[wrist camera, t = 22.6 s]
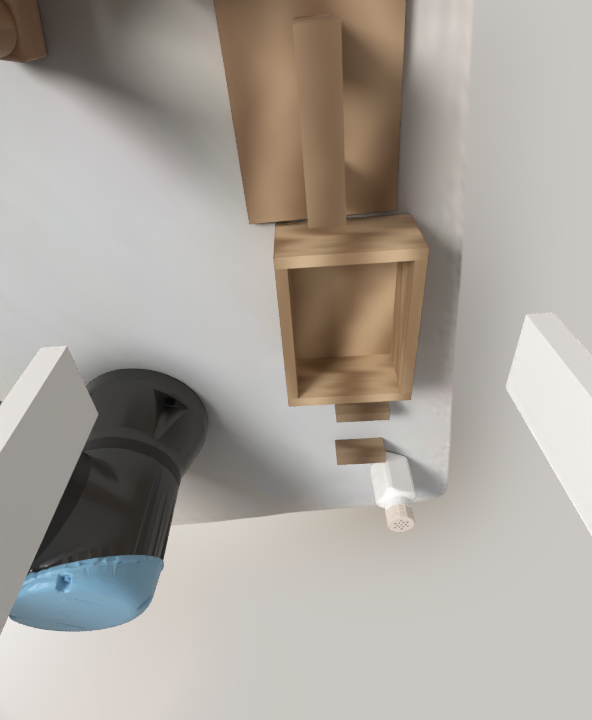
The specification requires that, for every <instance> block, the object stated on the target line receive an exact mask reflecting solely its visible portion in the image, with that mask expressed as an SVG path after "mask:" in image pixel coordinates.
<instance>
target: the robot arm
mask: <svg viewBox="0 0 592 720" xmlns="http://www.w3.org/2000/svg"><path fill="white" fill-rule="evenodd" d="M506 389H507V391H508V393H509V395H510V396H511V398H512V399H513V401H514V403H515V405H516V407H517V408H518V410H519V412H520V414H521V415H522V417H523V419H524V420H525V422H526V424H527V426H528V427H529V429H530V431H531V432H532V434H533V436H534V438H535V439H536V441H537V443H538V445H539V446H540V448H541V450H542V451H543V453H544V455H545V456H546V458H547V460H548V461H549V463H550V465H551V467H552V469H553V470H554V472H555V474H556V475H557V477H558V479H559V481H560V482H561V484H562V486H563V488H564V489H565V491H566V492H567V494H568V496H569V498H570V500H571V501H572V503H573V505H574V506H575V508H576V510H577V511H578V513H579V515H580V517H581V518H582V520H583V522H584V524H585V525H586V527H587V529H588V530H589V532H590V534H591V536H592V356H591V354H590V353H589V352H588V351H587V350H586V349H585V348H584V346H583V345H582V344H581V343H580V342H579V341H578V340H577V338H576V337H575V336H574V335H573V334H572V333H571V332H570V331H569V329H568V328H567V327H566V326H565V325H564V324H563V323H562V321H561V320H560V319H559V318H558V317H557V316H556V315H555V313H539V314H527V315H526V317H525V321H524V324H523V328H522V331H521V335H520V338H519V342H518V345H517V349H516V352H515V356H514V360H513V363H512V367H511V370H510V374H509V378H508V381H507V384H506ZM207 426H208V417H207V412H206V409H205V407H204V405H203V403H202V402H201V400H200V399H199V398H198V396H197V395H196V394H195V393H194V392H193V391H192V390H191V389H189V388H188V387H187V386H186V385H184V384H183V383H181V382H179V381H178V380H176V379H174V378H172V377H169V376H167V375H164V374H161V373H158V372H154V371H150V370H143V369H121V370H115V371H111V372H108V373H105V374H103V375H100V376H99V377H97V378H95V379H94V380H93V381H91V382H90V383H89V384H88V385H87V387H86V386H85V384H84V382H83V379H82V377H81V375H80V373H79V371H78V369H77V366H76V364H75V362H74V360H73V358H72V355H71V353H70V351H69V349H68V347H67V346H57V347H42V348H40V350H39V351H38V352H37V354H36V355H35V357H34V358H33V360H32V361H31V362H30V364H29V365H28V367H27V368H26V370H25V371H24V372H23V374H22V375H21V377H20V378H19V380H18V381H17V382H16V384H15V385H14V387H13V388H12V390H11V391H10V392H9V394H8V395H7V397H6V398H5V400H4V401H3V402H1V401H0V634H1V632H2V629H3V627H4V625H5V623H6V620H7V618H8V616H9V617H10V619H12V620H13V621H15V622H18V623H20V624H23V625H26V626H30V627H34V628H39V629H45V630H55V631H92V630H100V629H106V628H111V627H115V626H118V625H122V624H124V623H127V622H129V621H131V620H133V619H134V618H136V617H138V616H139V615H140V614H142V613H143V612H144V611H145V609H146V608H147V607H148V606H149V604H150V602H151V601H152V598H153V595H154V592H155V589H156V586H157V582H158V579H159V576H160V573H161V571H162V569H163V567H164V563H163V559H164V554H165V549H166V545H167V540H168V536H169V531H170V527H171V522H172V518H173V513H174V508H175V504H176V499H177V495H178V489H179V485H180V481H181V478H182V477H183V475H184V474H185V472H186V471H187V469H188V468H189V466H190V465H191V463H192V462H193V460H194V459H195V457H196V456H197V454H198V453H199V451H200V450H201V448H202V446H203V444H204V441H205V437H206V432H207Z"/></svg>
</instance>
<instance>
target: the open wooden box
mask: <svg viewBox="0 0 592 720" xmlns="http://www.w3.org/2000/svg"><path fill="white" fill-rule="evenodd" d="M428 256H429V246H428V244H427V242H426V241H425V239H424V237H423V235H422V233H421V232H420V230H419V228H418V226H417V224H416V223H415V221H414V219H413V217H412V215H411V214H400V215H385V216H371V217H356V218H346V225H340V226H329V227H318V228H308V221H296V222H281V223H276V224H275V240H274V256H273V259H274V269H275V278H276V288H277V298H278V307H279V317H280V326H281V336H282V346H283V355H284V365H285V375H286V384H287V394H288V404H289V406H308V405H326V404H345V403H363V402H381V401H400V400H411V394H412V386H413V378H414V369H415V361H416V353H417V345H418V337H419V329H420V321H421V313H422V304H423V296H424V288H425V280H426V272H427V264H428Z"/></svg>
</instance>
